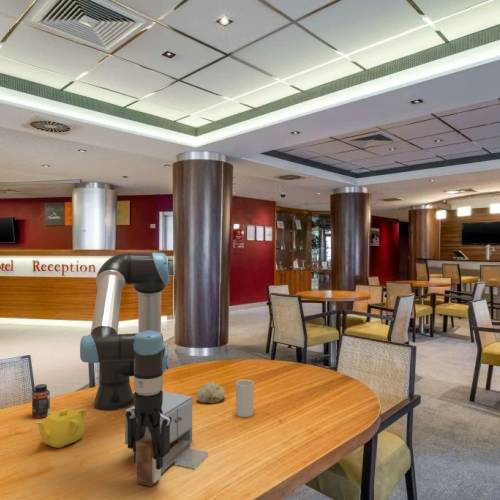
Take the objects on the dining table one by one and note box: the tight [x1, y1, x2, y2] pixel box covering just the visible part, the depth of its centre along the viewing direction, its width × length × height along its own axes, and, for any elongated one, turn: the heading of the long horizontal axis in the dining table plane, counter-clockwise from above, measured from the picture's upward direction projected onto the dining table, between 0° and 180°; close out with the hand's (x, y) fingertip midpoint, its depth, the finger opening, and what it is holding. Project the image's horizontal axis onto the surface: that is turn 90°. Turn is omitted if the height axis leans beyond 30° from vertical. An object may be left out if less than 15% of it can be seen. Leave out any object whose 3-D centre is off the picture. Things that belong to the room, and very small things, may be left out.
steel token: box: [173, 447, 209, 470], centre depth 123 cm, size 7×8×2 cm
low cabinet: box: [124, 391, 193, 446], centre depth 129 cm, size 13×18×14 cm
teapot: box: [34, 408, 87, 449], centre depth 135 cm, size 14×13×10 cm
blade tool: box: [135, 434, 191, 487], centre depth 120 cm, size 4×22×11 cm, turn 159°
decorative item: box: [196, 381, 226, 404], centre depth 171 cm, size 12×9×10 cm
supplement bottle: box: [31, 383, 51, 419], centre depth 155 cm, size 6×6×11 cm
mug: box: [235, 379, 255, 418], centre depth 159 cm, size 10×7×12 cm, turn 23°
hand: (148, 477), depth 112 cm, fingers closed on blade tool, 5 cm apart
